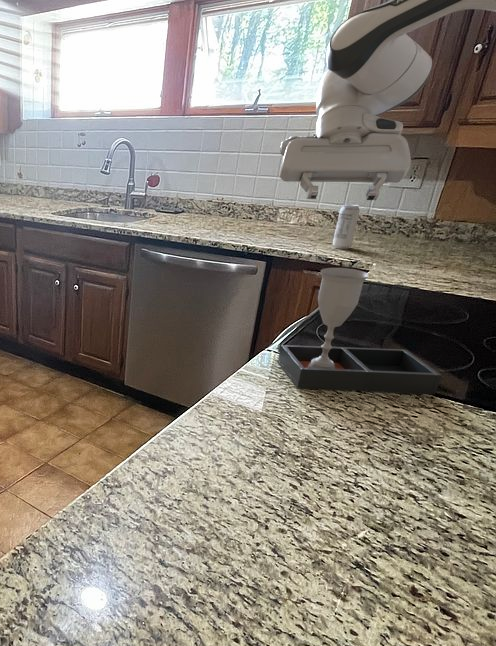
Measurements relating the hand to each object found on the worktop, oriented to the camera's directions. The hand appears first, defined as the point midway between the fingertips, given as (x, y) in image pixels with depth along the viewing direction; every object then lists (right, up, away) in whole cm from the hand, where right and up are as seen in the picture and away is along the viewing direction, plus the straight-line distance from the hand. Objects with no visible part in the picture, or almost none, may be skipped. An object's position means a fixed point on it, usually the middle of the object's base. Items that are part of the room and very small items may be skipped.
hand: (341, 197), depth 93 cm
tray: (+2, -32, 0) cm, 32 cm away
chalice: (-3, -31, +1) cm, 31 cm away
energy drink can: (+62, +12, +99) cm, 117 cm away
